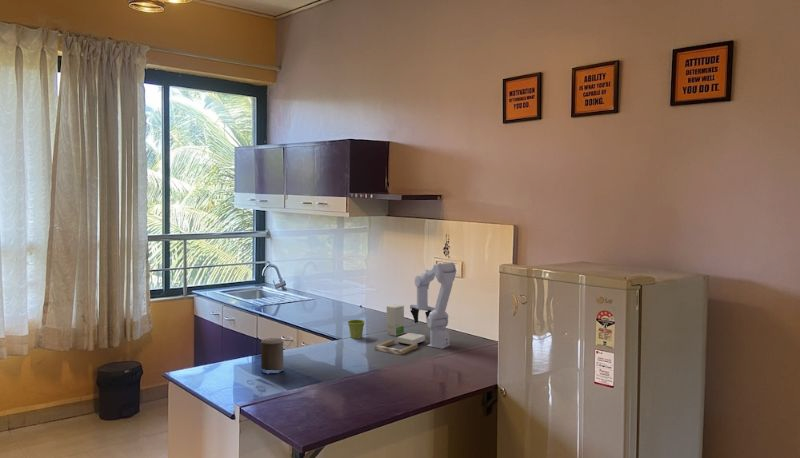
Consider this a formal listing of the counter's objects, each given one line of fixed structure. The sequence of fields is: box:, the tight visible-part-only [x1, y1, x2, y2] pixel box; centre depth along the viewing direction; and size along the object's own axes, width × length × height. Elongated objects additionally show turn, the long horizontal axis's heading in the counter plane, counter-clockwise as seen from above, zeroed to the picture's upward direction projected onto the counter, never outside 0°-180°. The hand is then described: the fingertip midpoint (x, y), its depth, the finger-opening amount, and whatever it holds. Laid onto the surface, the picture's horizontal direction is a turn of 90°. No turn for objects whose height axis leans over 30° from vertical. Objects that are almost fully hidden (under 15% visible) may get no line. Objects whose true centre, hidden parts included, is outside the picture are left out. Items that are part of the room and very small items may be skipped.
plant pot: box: [347, 319, 366, 340], centre depth 317 cm, size 9×9×9 cm
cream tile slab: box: [396, 332, 426, 345], centre depth 305 cm, size 10×11×4 cm
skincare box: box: [386, 304, 405, 337], centre depth 324 cm, size 8×7×16 cm
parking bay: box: [374, 339, 419, 355], centre depth 294 cm, size 16×14×2 cm
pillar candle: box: [260, 337, 284, 370], centre depth 261 cm, size 10×10×15 cm
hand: (422, 323), depth 313 cm, fingers open, 7 cm apart
